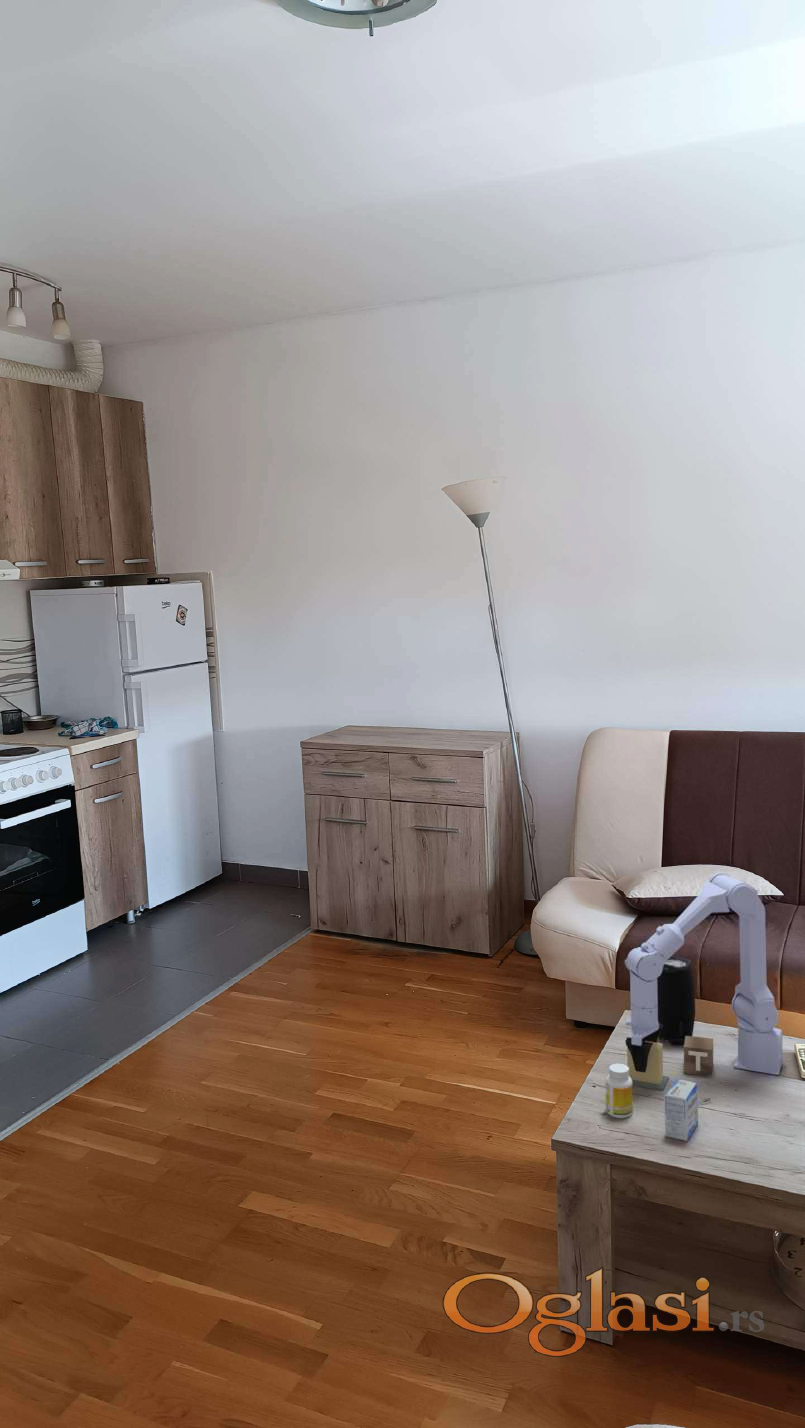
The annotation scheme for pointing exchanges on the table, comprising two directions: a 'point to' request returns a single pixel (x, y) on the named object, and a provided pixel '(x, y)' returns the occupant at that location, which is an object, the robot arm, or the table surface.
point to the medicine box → (681, 1109)
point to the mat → (651, 1085)
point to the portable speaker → (676, 1000)
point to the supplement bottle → (619, 1091)
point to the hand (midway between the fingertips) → (644, 1063)
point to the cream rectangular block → (649, 1065)
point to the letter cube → (698, 1055)
